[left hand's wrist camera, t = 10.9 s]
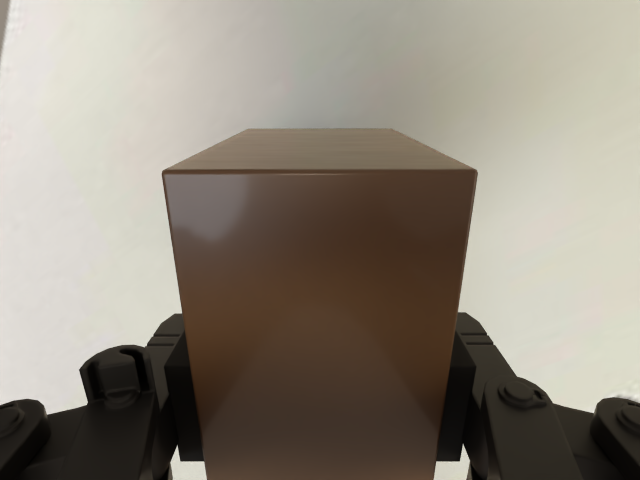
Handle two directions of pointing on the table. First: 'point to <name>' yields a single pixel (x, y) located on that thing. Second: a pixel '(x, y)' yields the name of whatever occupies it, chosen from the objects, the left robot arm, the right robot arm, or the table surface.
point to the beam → (319, 299)
